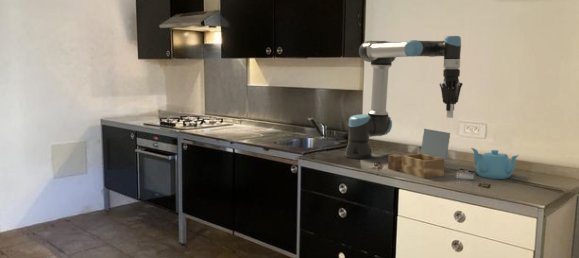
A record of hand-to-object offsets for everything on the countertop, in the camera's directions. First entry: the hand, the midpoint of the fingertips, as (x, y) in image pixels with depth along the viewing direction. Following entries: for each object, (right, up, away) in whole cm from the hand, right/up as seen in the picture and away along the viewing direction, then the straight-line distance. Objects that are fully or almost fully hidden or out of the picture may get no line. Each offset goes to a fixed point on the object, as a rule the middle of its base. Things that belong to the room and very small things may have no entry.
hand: (449, 117), depth 238 cm
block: (-25, -26, +7) cm, 37 cm away
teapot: (+17, -28, -8) cm, 34 cm away
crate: (-14, -27, -3) cm, 31 cm away
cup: (-9, -25, +11) cm, 29 cm away
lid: (-8, -13, -2) cm, 15 cm away
